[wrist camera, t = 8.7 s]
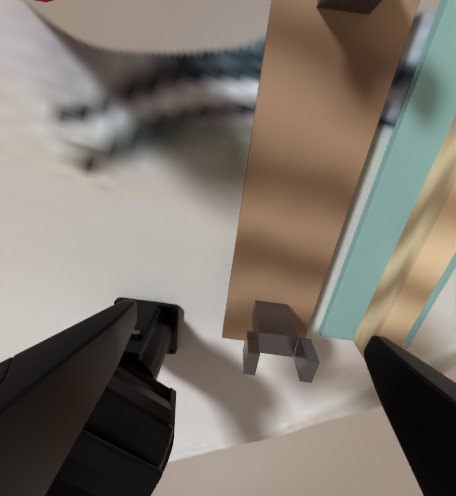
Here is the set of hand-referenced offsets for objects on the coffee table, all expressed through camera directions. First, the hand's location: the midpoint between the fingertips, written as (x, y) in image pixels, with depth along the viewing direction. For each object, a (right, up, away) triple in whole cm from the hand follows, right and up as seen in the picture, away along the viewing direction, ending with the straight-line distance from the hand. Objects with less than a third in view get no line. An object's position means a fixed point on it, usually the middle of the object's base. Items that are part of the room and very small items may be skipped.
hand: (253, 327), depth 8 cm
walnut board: (+4, +8, +9) cm, 13 cm away
